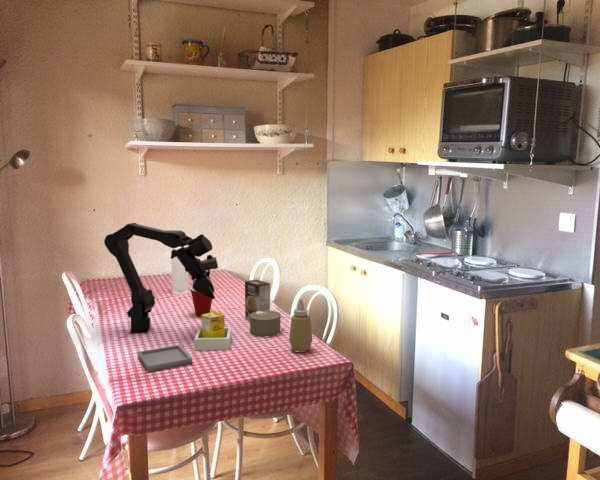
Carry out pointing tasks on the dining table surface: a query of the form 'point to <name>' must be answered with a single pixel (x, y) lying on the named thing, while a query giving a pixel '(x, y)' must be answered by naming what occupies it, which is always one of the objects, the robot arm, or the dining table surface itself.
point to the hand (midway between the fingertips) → (213, 294)
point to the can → (265, 323)
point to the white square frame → (212, 341)
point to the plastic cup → (201, 302)
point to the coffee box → (256, 297)
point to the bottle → (179, 276)
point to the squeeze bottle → (300, 329)
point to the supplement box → (213, 325)
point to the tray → (164, 358)
